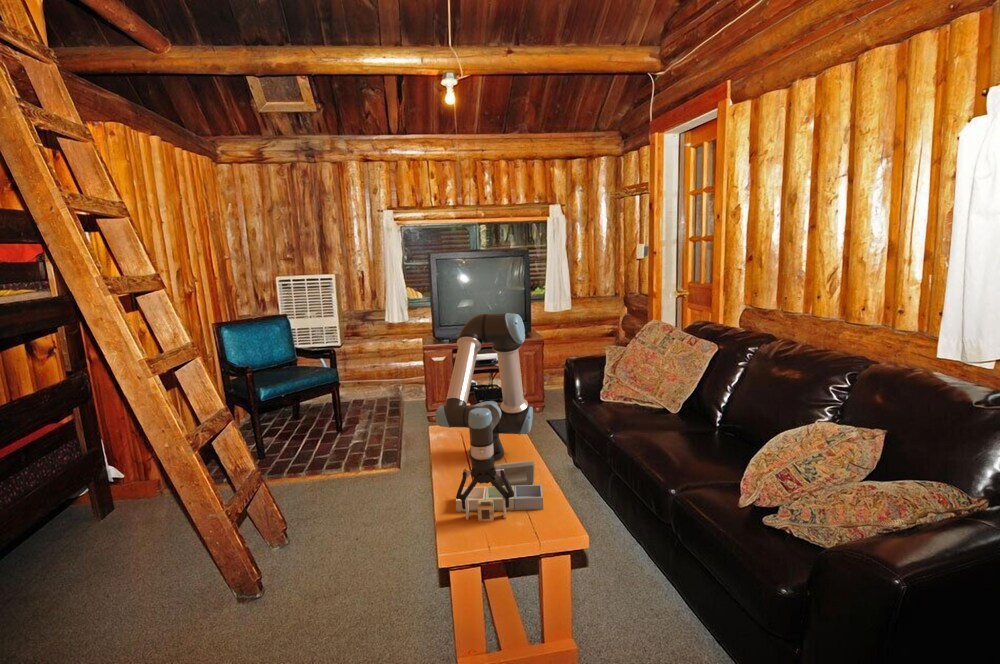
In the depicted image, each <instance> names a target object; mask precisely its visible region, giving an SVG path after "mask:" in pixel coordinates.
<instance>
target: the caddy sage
mask: <svg viewBox="0 0 1000 664" xmlns="http://www.w3.org/2000/svg"><path fill="white" fill-rule="evenodd" d="M502 487H503V488H504V489H505V490H506V491H507V489H506V487H505V486H502ZM511 487H512V489H513V491H514V486H511ZM507 492H508V491H507ZM485 500H493V502H494V512H496V511H498V512H499V511H503V496H502V494H501V493H500V492H499V491H498V490H497V489H496V488H495V486H492V485H491V486H486V496H485ZM506 511H515V504H514V497H510V498H509V508H506Z"/></svg>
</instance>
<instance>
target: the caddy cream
mask: <svg viewBox="0 0 1000 664" xmlns="http://www.w3.org/2000/svg"><path fill="white" fill-rule="evenodd" d="M467 488H468V486H466V487H465V486H464V487H463V490H462V493H461V494H463V493H464V492H465V491H466V489H467ZM486 488H487V486H474V488H473V489H472V491H471V492H470V493H469V495H468V496H467V497H468V504H469V513H470V512H471V513H472V512H478V501H479V500H485V496H486ZM455 507H456V513H466V509H463V508H462V500H460V499H456V498H455Z"/></svg>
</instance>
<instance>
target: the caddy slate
mask: <svg viewBox="0 0 1000 664" xmlns="http://www.w3.org/2000/svg"><path fill="white" fill-rule="evenodd" d="M529 510H531V511H532V510H544V495H543V484H532V485H517V486H514V511H529Z"/></svg>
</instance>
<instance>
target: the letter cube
mask: <svg viewBox="0 0 1000 664" xmlns="http://www.w3.org/2000/svg"><path fill="white" fill-rule="evenodd" d="M477 518H478V522H494V519H495V511H494V502H493V500H479V501H478V511H477Z"/></svg>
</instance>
